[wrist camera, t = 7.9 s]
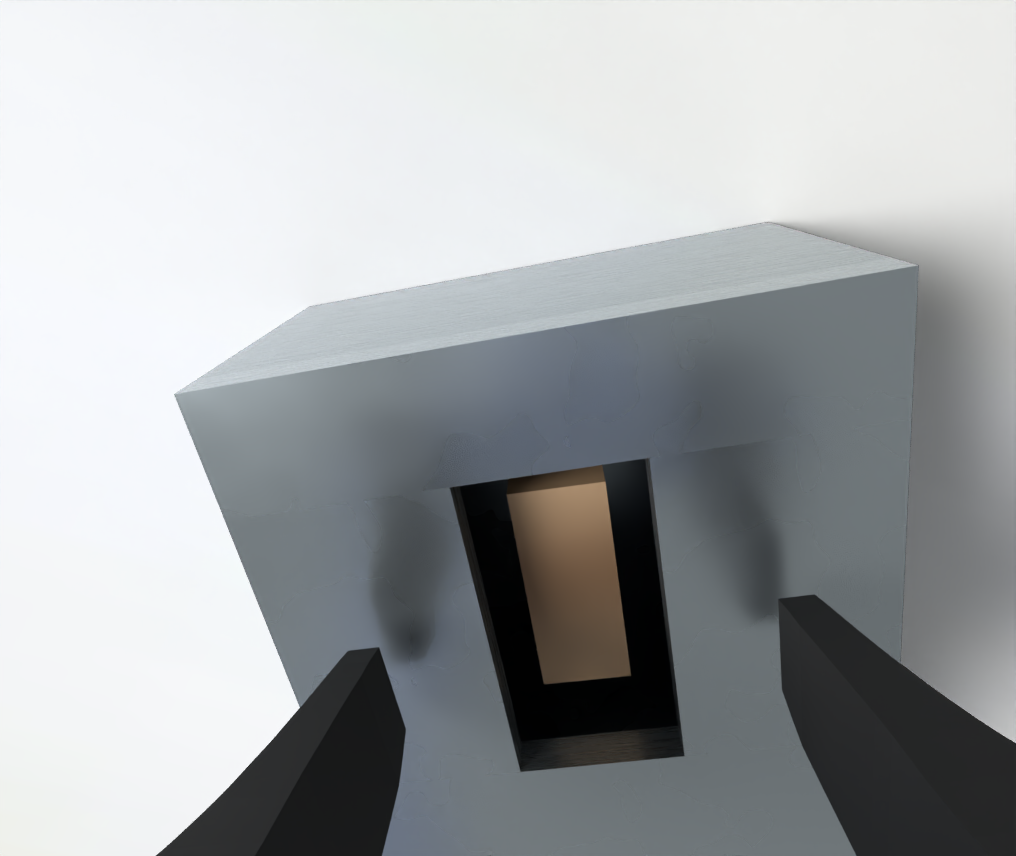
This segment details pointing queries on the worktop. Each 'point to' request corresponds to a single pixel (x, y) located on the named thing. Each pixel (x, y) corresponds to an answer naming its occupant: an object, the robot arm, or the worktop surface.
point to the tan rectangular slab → (570, 573)
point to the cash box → (633, 513)
